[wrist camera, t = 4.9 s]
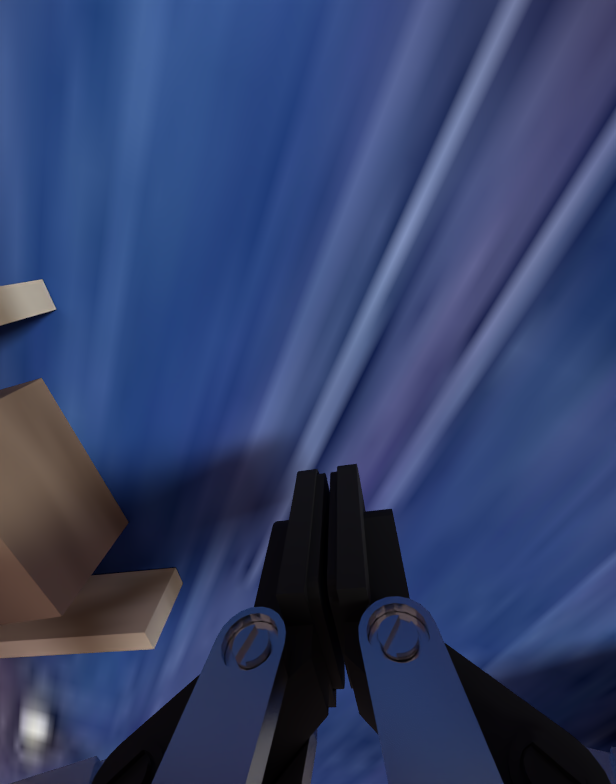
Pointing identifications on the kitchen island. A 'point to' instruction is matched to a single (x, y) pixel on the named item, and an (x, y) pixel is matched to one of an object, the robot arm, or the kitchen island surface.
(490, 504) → the kitchen island surface
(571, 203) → the kitchen island surface
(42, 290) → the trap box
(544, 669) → the kitchen island surface
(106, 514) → the walnut block
